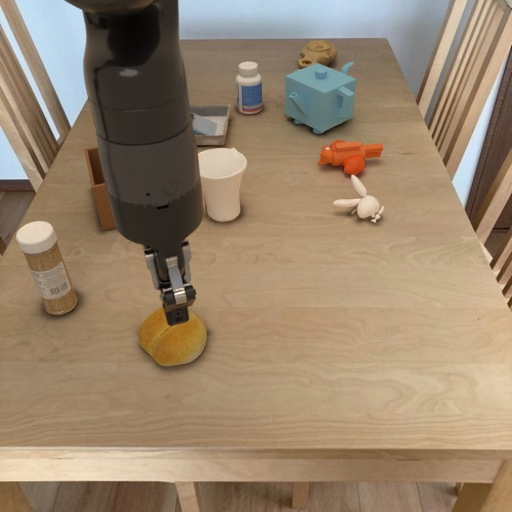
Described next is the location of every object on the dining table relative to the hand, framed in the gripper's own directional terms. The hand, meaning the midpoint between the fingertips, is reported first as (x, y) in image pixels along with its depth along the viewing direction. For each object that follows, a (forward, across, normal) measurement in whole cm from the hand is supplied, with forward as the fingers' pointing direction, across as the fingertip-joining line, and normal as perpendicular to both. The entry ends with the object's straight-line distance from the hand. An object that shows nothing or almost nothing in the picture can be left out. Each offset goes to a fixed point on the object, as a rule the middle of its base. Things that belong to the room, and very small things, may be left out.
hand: (177, 318), depth 55 cm
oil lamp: (+15, -83, +51) cm, 99 cm away
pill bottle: (+15, -68, +29) cm, 76 cm away
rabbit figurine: (+15, -27, +35) cm, 46 cm away
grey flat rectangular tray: (+15, -65, +11) cm, 67 cm away
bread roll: (+15, -10, 0) cm, 18 cm away
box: (+15, -42, 0) cm, 45 cm away
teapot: (+15, -58, +42) cm, 73 cm away
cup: (+15, -35, +14) cm, 40 cm away
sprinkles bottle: (+15, -22, -14) cm, 30 cm away
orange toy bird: (+15, -39, +40) cm, 58 cm away
